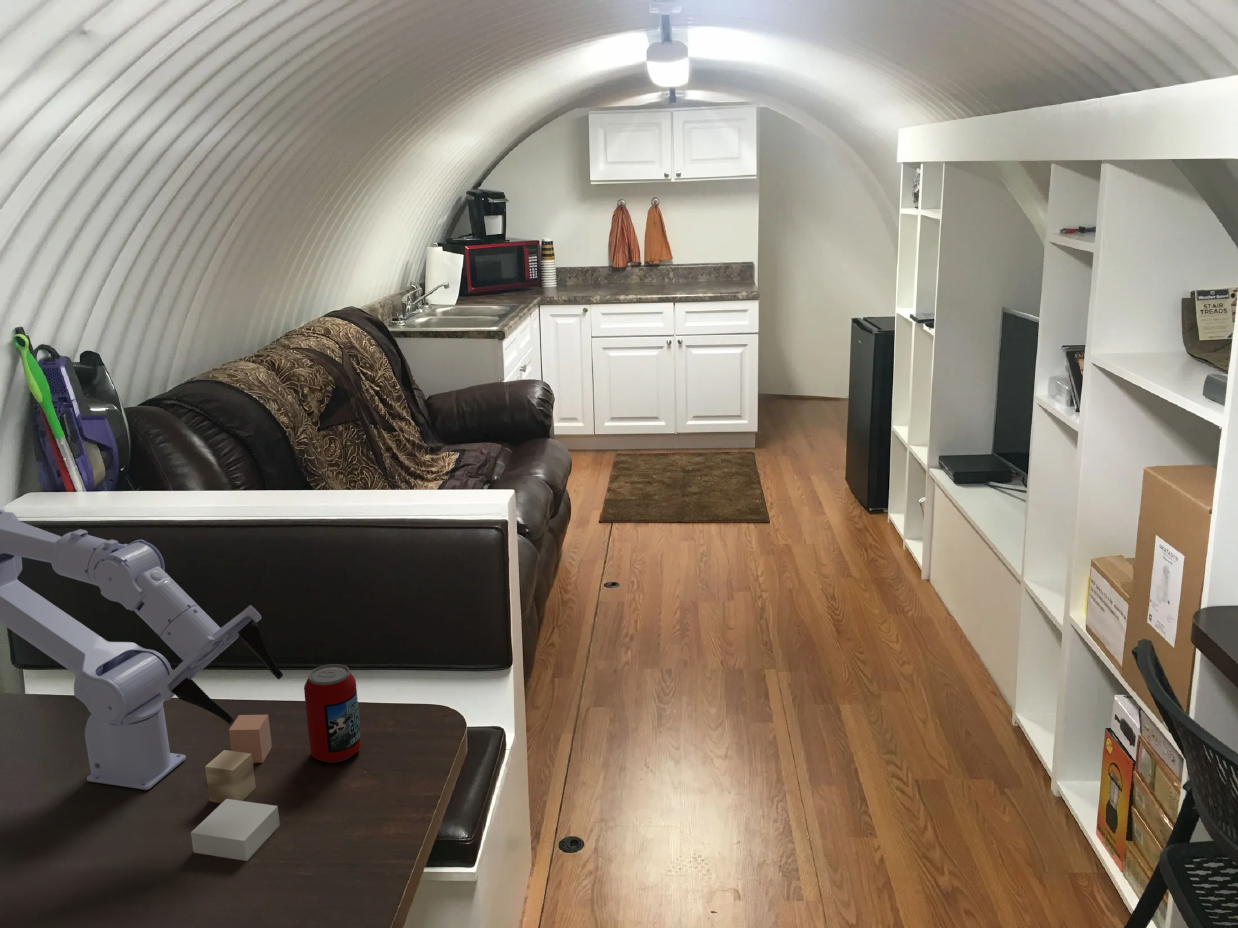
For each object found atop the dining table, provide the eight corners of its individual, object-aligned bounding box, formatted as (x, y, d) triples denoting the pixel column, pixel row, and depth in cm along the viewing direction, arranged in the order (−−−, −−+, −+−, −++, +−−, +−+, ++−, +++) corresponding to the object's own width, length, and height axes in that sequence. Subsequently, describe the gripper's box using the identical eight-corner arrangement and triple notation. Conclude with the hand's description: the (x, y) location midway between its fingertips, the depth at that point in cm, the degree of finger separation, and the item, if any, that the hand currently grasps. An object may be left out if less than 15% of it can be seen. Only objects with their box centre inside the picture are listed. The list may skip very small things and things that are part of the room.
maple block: (209, 801, 131) (205, 766, 130) (228, 784, 135) (224, 749, 134) (237, 805, 130) (233, 770, 129) (255, 787, 134) (251, 753, 133)
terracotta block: (232, 763, 140) (228, 729, 139) (242, 747, 144) (238, 714, 142) (262, 762, 140) (258, 729, 139) (271, 746, 144) (268, 714, 143)
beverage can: (348, 768, 138) (341, 686, 135) (301, 763, 140) (293, 682, 136) (370, 742, 145) (363, 663, 141) (325, 737, 146) (317, 659, 143)
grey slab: (193, 854, 121) (190, 832, 121) (229, 819, 128) (226, 798, 127) (247, 863, 120) (244, 840, 119) (280, 827, 126) (277, 805, 126)
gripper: (125, 658, 123) (205, 739, 122) (224, 574, 129) (301, 651, 128) (134, 667, 129) (210, 745, 128) (228, 587, 135) (301, 661, 135)
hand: (256, 699), depth 129 cm, fingers open, 7 cm apart
